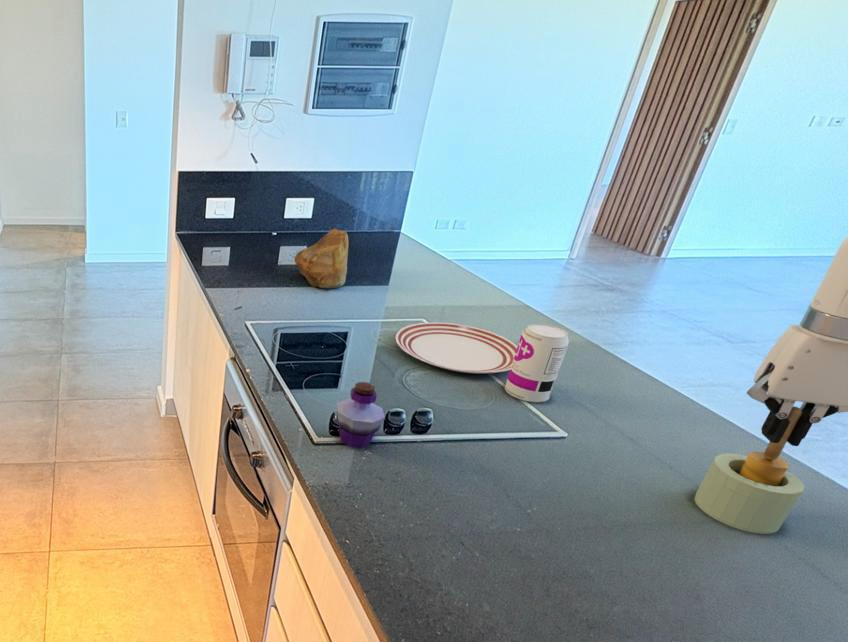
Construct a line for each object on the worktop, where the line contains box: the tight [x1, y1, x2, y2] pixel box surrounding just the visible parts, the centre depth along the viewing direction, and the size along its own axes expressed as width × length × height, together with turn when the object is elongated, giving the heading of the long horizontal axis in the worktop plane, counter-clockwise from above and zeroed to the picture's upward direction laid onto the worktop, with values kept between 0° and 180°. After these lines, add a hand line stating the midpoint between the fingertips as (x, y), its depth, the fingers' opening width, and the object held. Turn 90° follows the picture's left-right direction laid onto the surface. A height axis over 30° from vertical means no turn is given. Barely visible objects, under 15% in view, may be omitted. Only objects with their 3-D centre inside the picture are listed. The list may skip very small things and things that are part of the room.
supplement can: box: [504, 323, 570, 403], centre depth 127 cm, size 8×8×15 cm
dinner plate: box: [395, 321, 518, 375], centre depth 147 cm, size 27×27×3 cm
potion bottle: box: [336, 381, 386, 449], centre depth 112 cm, size 9×9×12 cm
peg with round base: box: [739, 405, 802, 486], centre depth 91 cm, size 4×4×13 cm
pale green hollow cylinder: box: [694, 453, 805, 535], centre depth 95 cm, size 10×10×8 cm
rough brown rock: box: [294, 228, 349, 290], centre depth 195 cm, size 23×17×15 cm
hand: (779, 439), depth 91 cm, fingers closed on peg with round base, 1 cm apart
